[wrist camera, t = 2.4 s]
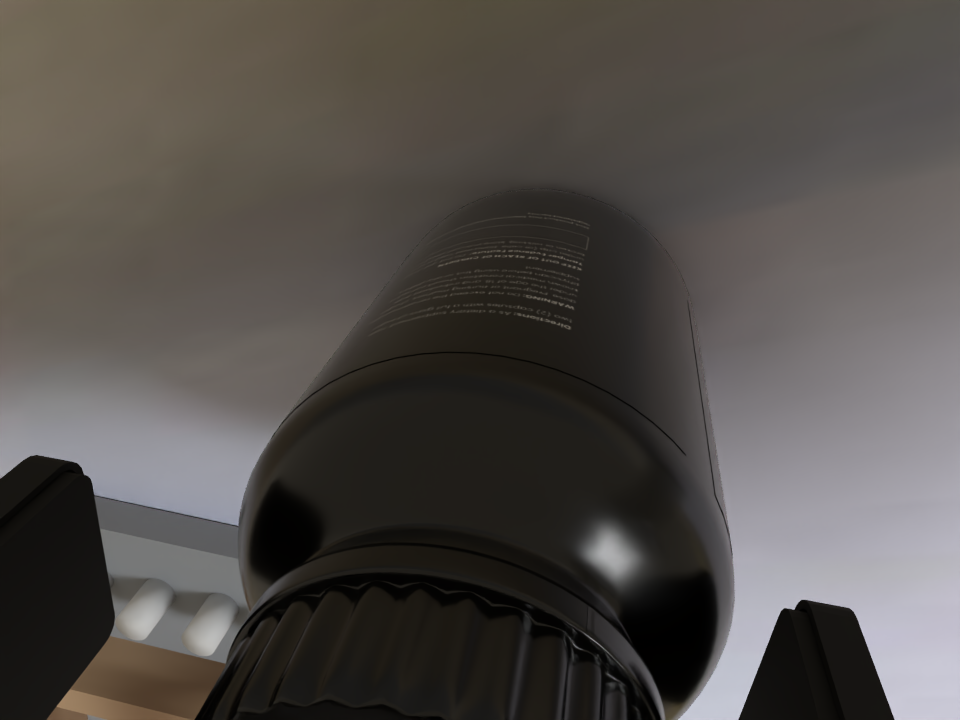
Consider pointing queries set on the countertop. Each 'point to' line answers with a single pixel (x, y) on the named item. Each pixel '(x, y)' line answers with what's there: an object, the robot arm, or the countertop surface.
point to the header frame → (139, 684)
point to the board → (172, 579)
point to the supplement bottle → (493, 491)
